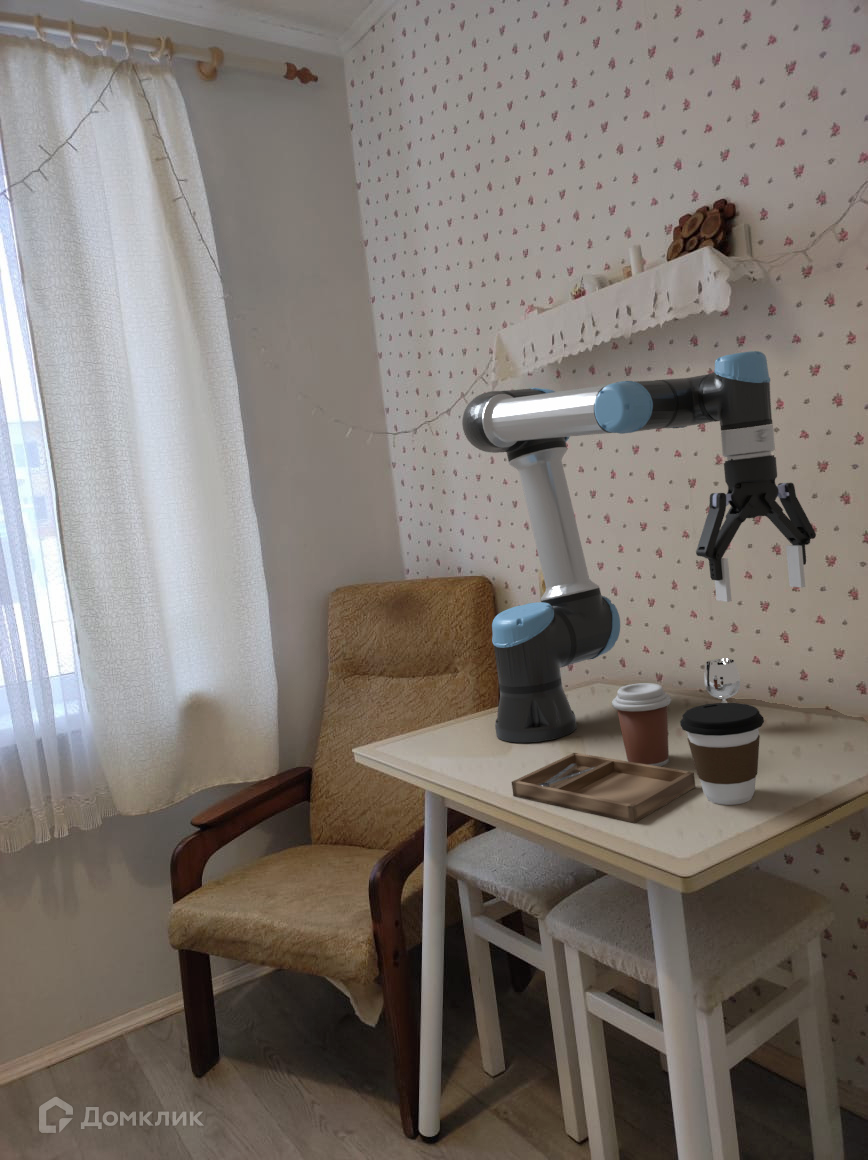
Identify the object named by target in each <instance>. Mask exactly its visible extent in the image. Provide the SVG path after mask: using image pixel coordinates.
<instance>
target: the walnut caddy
mask: <svg viewBox="0 0 868 1160" xmlns="http://www.w3.org/2000/svg"><path fill="white" fill-rule="evenodd" d="M571 764H577V771H575V772H574V773H573V774H575V773H578V772H580V771H583V770H586V769H589V768H592V767H595V768H593V769H591V770H589V771H587V772H585V773H583V774H581V775H579V776H577V777H575V778H573V779H571V780H569V781H567V782H565V783H563V784H561V785H559V786H557V787H555V788H550V787H546V786H541V785H539V784H541V783H545V782H547V781H548V780H550V779H551V778H552V777H554V776H555V775H557V774H558V773H559V772H561V771H562V770H564V769H565V768H566V767H568V766H569V765H571ZM571 775H572V774H571ZM695 788H696V777H695V772H694V771H688V770H684V769H683V770H681V769H675V768H670V767H664V766H660V767H659V766H653V765H647V764H641V763H634V762H628V761H627V760H621V759H614V758H609V757H603V756H597V755H591V754H584V753H578V752H573V753H570V754H568V755H567V756H564V757H562V758H560V759H558V760H556V761H553V762H551V763H549V764H546V765H545V766H543V767H540V768H539V769H537V770H534V771H532V772H530V773H528V774H525V775H523V776H521V777H519V778H517V779H514V780H513V781H511V789H512V796H513V797H517V798H521V799H525V800H529V801H535V802H540V803H543V804H548V805H553V806H557V807H561V808H565V809H570V810H574V811H578V812H584V813H588V814H591V815H592V814H593V815H597V816H602V817H606V818H610V819H614V820H620V821H623V822H629V823H633V824H635V823H637V822H639V821H641V820H642V819H644V818H645V817H647V816H649V815H650V814H652V813H654V812H655V811H657V810H659V809H661V808H663V807H664V806H666V805H667V804H669V803H672V802H673V801H674V800H676V799H678V798H679V797H681V796H683V795H684V794H686V793H688V792H690V791H691V790H693V789H695Z"/></svg>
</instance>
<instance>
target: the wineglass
mask: <svg viewBox="0 0 868 1160" xmlns="http://www.w3.org/2000/svg"><path fill="white" fill-rule="evenodd" d="M703 674H704V675H703V678H704V680H703V681H704V687H705V690H706V692H707V693H708V695H710V696H711V697H713V698H716V699H720V700H722V701H721V703H728V701H727V699H730V698H732V697H734V696H736V695H737V694H738V692H739V691H740V687H741V677H740V673H739V670H738V667H737V665H736V661H735V660H734V659H731V658H716V659H710V660H707V661H706V662H705V666H704V673H703Z"/></svg>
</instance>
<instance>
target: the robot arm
mask: <svg viewBox="0 0 868 1160" xmlns="http://www.w3.org/2000/svg"><path fill="white" fill-rule="evenodd" d="M768 368H769V367H768V360H767V356H766V355H765V354H764V353H763V352H762V351H757V350H752V351H744V352H736V353H732V354H725V355H723V356H720V357H717V359H716V360H715V362H714V372H711V373H708V374H702V375H695V376H690V377H683V378H669V379H667V378H665V379H656V380H655V379H653V380H634V381H633V380H626V381H624V380H623V381H617V382H613V383H609V384H605V385H598V386H590V387H584V388H583V387H582V388H577V389H570V390H569V389H568V390H562V391H555V390H553V389H550V388H539V387H531V388H530V387H529V388H520V389H510V390H509V389H508V390H493V391H487V392H486V391H485V392H483V393H481V394H478V395H477V396H475V397H473V399H471V401H470V402H469V403H468V404H467V405H466V407H465V409H464V412H463V413H462V414H463V415H462V421H461V422H462V423H461V425H462V430H463V433H464V436H465V438H466V439H467V441H468V442H469V443H470V444H471V445H472V446H473V447H474V448H476V449H478V450H479V451H482V452H485V453H493V454H494V453H495V454H496V453H506V456H507V461H508V463H509V465H510V466H511V467H513V468H514V469H516V470H517V471H518V473H519V478H520V482H521V486H522V491H523V495H524V498H525V503H526V507H527V512H528V516H529V520H530V526H531V528H532V533H533V538H534V541H535V547H536V552H537V555H538V559H539V564H540V568H541V572H542V576H543V581H544V585H545V592H544V593H543V594H542V596H541V598H540V602H538V601H537V602H531V603H525V604H523V605H517V606H516V605H515V606H513V607H510V608H507V609H506V610H503V611H501V612H499V613H498V614H497V615H495V617H494V619H493V620H492V623H491V630H492V637H491V638H492V639H491V640H492V644H493V649H494V656H495V662H496V663H495V664H496V671H497V678H498V686H499V694H500V696H499V701H498V706H497V713H496V714H497V717H496V719H495V722H494V727H495V735H496V737H497V738H498V739H499V740H501V741H505V742H510V743H519V744H520V743H523V744H524V743H537V742H546V741H551V740H554V739H555V740H556V739H558V738H563V737H565V736H568V735H570V734H571V733H573V732H575V730H577V720H576V719H577V717H576V714H575V712H574V710H572V708H571V705H570V703H569V700H568V698H567V696H566V693H565V690H564V688H563V683H562V675H561V668H564V667H568V666H570V665H574V664H578V663H580V662H584V661H586V660H594V659H597V658H598V657H599V656H602V655H604V654H606V653H608V652H610V651H611V650H612V649H613V648H614V646H615V644H616V642H617V641H618V639H619V637H620V633H621V617H620V614H619V610H618V608H617V607H616V605H615V604H614V603H612V600H611V599H610V598H608V597H607V596H605V595H602V594H601V588H600V585H599V584H597V583H595V582H594V581H593V580H591V579H590V577H589V572H588V567H587V563H586V559H585V555H584V550H583V547H582V546H583V545H582V541H581V537H580V533H579V530H578V526H577V525H578V524H577V521H576V516H575V512H574V508H573V503H572V499H571V494H570V491H569V488H568V487H569V486H568V482H567V478H566V473H565V468H564V464H563V461H562V460H563V458H564V456H565V454H566V453H567V451H568V448H567V441H568V440H570V437H578V436H591V435H603V434H621V435H622V434H631V433H635V432H644V431H651V430H660V429H680V428H687V427H689V426H696V425H701V424H703V425H704V424H708V423H712V422H719V425H720V436H721V437H720V438H721V449H722V450H721V451H722V457H724V458H726V459H727V460H725V461H724V463H723V468H724V469H723V471H724V480H725V483H726V485H727V492H726V493H725V492H713V493H710V495H709V509H708V512H707V516H706V519H705V522H704V525H703V529H702V531H701V534H700V538H699V541H698V544H697V547H696V550H695V553H696V556H697V557H702V558H704V559H708V565H709V573H710V574H709V576H710V578H711V579H710V580H711V581H714V587H715V598H716V601H717V602H718V601H719V602H725V603H727V602H732V592H731V591H732V590H731V580H730V568H729V567H730V566H729V559H728V558H724V555H725V553H726V552H727V551H728V548H729V546H730V545H731V543H732V541H733V540H734V537H735V536H736V533H737V532H738V530H739V529H740V526H741V525H742V524H743V523H744V522H745V521H746V519H754V518H757V517H766V518H767V519H769V521H770V522H771V523H772V524H773V525H774V526H775V528H777V530H778V531H779V532H780V533H781V534H782V535H783V536H784V537H785V538H786V540H787V541H788V542H789V543H790V544H787V545H785V549H786V560H787V561H786V563H787V573H788V575H787V576H788V583H789V584H788V586H789V587H791V588H792V587H793V588H802V589H803V588H806V580H805V567H804V566H805V565H807V556H806V555H807V554H806V546H808V545H810V544H811V540H813V539H816V536H817V533H816V531H815V529H814V527H813V526H812V523H811V522H810V520H809V518H808V516H807V514H806V512H805V510H804V509H803V506H802V504H801V502H800V501H799V499H798V497H797V494H796V488H795V484H794V483H793V482H780V483H778V484H776V479H777V478H778V467H777V457H776V456H775V455H772V452H774V451H775V449H776V446H775V445H776V444H775V433H774V432H775V431H774V423H773V418H772V416H773V415H772V404H771V402H772V401H771V378H770V376H769V369H768ZM509 465H508V466H509ZM777 498H778V499H779V501H780V503H781V505H782V507H783V508H782V507H781V506H780V504H779V503H778V502H777V501H776V499H777ZM729 505H730V507H729V509H728V511H727V513H726V510H727V507H728V506H729ZM784 511H785V512H784ZM785 513H786V514H787V515H786V514H785ZM725 514H726V515H725ZM724 517H725V520H724ZM723 520H724V522H723Z"/></svg>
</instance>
